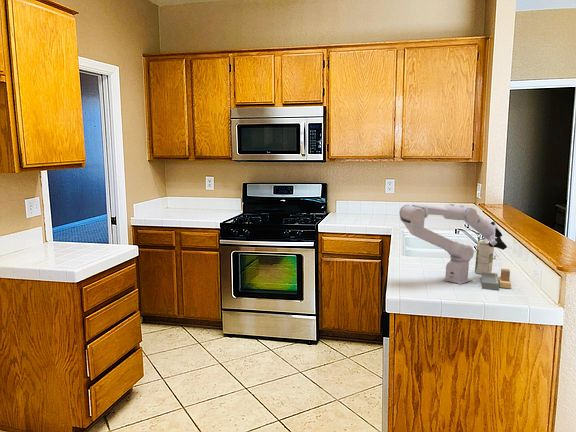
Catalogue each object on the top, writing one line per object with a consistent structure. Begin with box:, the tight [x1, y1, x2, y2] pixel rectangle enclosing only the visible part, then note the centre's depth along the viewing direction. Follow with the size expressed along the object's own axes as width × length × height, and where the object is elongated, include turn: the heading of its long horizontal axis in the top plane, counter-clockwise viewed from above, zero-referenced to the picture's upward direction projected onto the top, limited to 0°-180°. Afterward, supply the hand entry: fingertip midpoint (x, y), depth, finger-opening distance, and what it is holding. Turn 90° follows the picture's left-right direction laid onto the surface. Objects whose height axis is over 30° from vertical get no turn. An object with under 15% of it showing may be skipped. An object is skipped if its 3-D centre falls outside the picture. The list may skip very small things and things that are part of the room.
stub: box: [498, 268, 512, 289], centre depth 189 cm, size 4×10×6 cm, turn 158°
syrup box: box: [474, 239, 495, 275], centre depth 209 cm, size 6×6×14 cm
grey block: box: [481, 272, 500, 291], centre depth 192 cm, size 6×18×3 cm, turn 158°
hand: (502, 242), depth 200 cm, fingers open, 7 cm apart
